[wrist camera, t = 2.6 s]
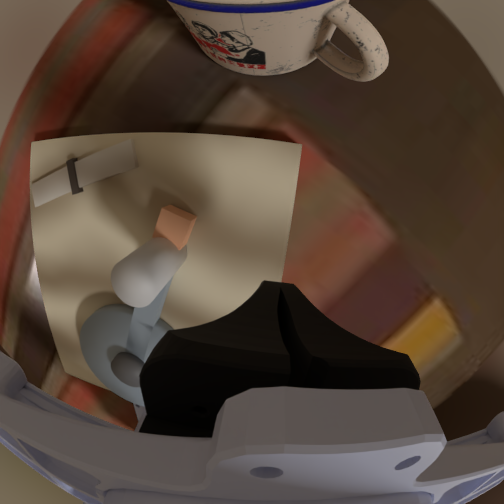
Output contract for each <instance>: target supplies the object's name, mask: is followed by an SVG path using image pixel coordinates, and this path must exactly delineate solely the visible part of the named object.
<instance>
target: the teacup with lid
mask: <svg viewBox="0 0 504 504" xmlns="http://www.w3.org/2000/svg"><path fill="white" fill-rule="evenodd" d="M167 1H168V3H169V4H170V5H171V7H172V8H173V9H174V11H175V12H176V13H177V15H178V16H179V18H180V19H181V20H182V22H183V23H184V24H185V26H186V27H187V29H188V30H189V31H190V33H191V34H192V36H193V37H194V39H195V40H196V41H197V43H198V44H199V46H200V47H201V49H202V50H203V51H204V52H205V54H206V55H207V56H209V57H210V58H211V59H212V60H213V61H215V62H216V63H218V64H220V65H221V66H223V67H225V68H227V69H230V70H233V71H236V72H239V73H244V74H250V75H277V74H283V73H287V72H291V71H294V70H297V69H299V68H301V67H303V66H305V65H307V64H309V63H310V62H312V61H313V60H315V59H316V58H318V59H319V60H321V61H322V62H323V63H324V64H325V65H327V66H328V67H329V68H331V69H332V70H333V71H335V72H337V73H338V74H340V75H342V76H344V77H346V78H349V79H352V80H355V81H370V80H372V79H375V78H376V77H378V76H379V75H380V74H381V73H383V72H384V71H385V69H386V68H387V66H388V62H389V56H388V51H387V48H386V46H385V43H384V41H383V39H382V37H381V36H380V34H379V33H378V31H377V30H376V29H375V28H374V26H373V25H372V24H371V23H370V22H369V21H368V20H367V19H366V18H365V17H364V16H363V15H362V14H360V13H359V12H358V11H357V10H356V9H354V8H353V7H352V6H351V5H349V4H348V2H349V0H167ZM336 26H337V27H338V28H339V29H340V30H341V31H343V32H344V33H345V34H346V35H347V36H348V37H349V38H350V39H351V40H352V42H353V43H354V44H355V45H356V47H357V48H358V50H359V52H360V54H361V56H362V58H363V61H364V62H362V61H358V60H355V59H353V58H351V57H349V56H348V55H346V54H345V53H343V52H342V51H341V50H339V49H338V48H337V47H336V46H335V45H333V44H332V43H331V42H330V39H331V37H332V35H333V33H334V31H335V28H336Z"/></svg>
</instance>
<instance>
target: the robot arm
mask: <svg viewBox="0 0 504 504" xmlns="http://www.w3.org/2000/svg"><path fill="white" fill-rule="evenodd" d="M139 380H140V388H141V393H142V397H143V401H144V406H145V407H143V406H140V405H137V404H134V403H133V405H134V408H135V412H136V415H137V418H138V424H137V426H136V428H135V430H134V431H131V430H128V429H125V428H122V427H119V426H117V425H114V424H111V423H109V422H106V421H104V420H101V419H99V418H97V417H94V416H92V415H90V414H87V413H85V412H83V411H81V410H79V409H77V408H74V407H72V406H70V405H68V404H66V403H64V402H62V401H60V400H59V399H57V398H55V397H53V396H51V395H49V394H47V393H46V392H44V391H42V390H40V389H39V388H37V387H35V386H34V385H32V384H30V383H29V382H27V379H26V376H25V374H24V372H23V370H22V368H21V367H20V366H19V364H18V363H17V362H15V361H14V360H13V359H11V358H10V357H8V356H7V355H5V354H4V353H2V352H1V351H0V442H1V443H2V444H3V445H4V446H6V447H7V448H8V449H9V450H10V451H12V452H13V453H14V454H15V455H16V456H17V457H19V458H20V459H21V460H23V461H24V462H25V463H26V464H28V465H29V466H30V467H32V468H33V469H34V470H36V471H37V472H38V473H40V474H41V475H42V476H44V477H45V478H47V479H48V480H50V481H51V482H53V483H54V484H56V485H57V486H59V487H60V488H62V489H63V490H65V491H67V492H68V493H70V494H72V495H73V496H75V497H77V498H78V499H80V500H82V501H84V502H83V504H465V503H466V502H468V501H470V500H472V499H474V498H476V497H477V496H479V495H481V494H482V493H484V492H486V491H488V490H489V489H491V488H493V487H494V486H496V485H497V484H499V483H500V482H501V481H502V480H504V412H501V413H500V414H498V415H497V416H496V417H495V418H494V419H493V420H492V421H491V422H490V423H489V425H488V426H487V428H486V429H484V430H481V431H478V432H475V433H473V434H470V435H467V436H464V437H461V438H458V439H454V440H451V441H448V442H447V441H446V438H445V436H444V433H443V431H442V429H441V426H440V424H439V422H438V420H437V418H436V416H435V414H434V412H433V409H432V407H431V405H430V403H429V401H428V399H427V397H426V395H425V393H424V391H420V390H419V387H420V377H419V374H418V372H417V370H416V368H415V367H414V365H413V363H412V361H411V359H410V358H409V356H408V355H407V354H403V353H400V352H396V351H393V350H389V349H386V348H383V347H380V346H378V345H375V344H373V343H370V342H368V341H366V340H363V339H361V338H359V337H357V336H355V335H354V334H352V333H350V332H348V331H346V330H345V329H343V328H341V327H340V326H338V325H337V324H336V323H334V322H333V321H331V320H330V319H329V318H327V317H326V316H325V315H324V314H323V313H322V312H320V311H319V310H318V309H317V308H316V307H315V306H314V305H313V304H312V303H311V302H310V301H309V300H308V299H307V298H306V297H305V296H304V295H303V294H302V292H301V291H300V290H299V289H298V288H297V287H296V286H295V285H294V284H290V283H282V282H275V281H267V280H264V281H262V282H261V284H260V286H259V287H258V289H257V290H256V291H255V292H254V293H253V294H252V296H251V297H250V298H249V299H248V300H246V301H245V302H244V303H243V304H242V305H241V306H239V307H238V308H237V309H235V310H234V311H232V312H231V313H229V314H227V315H225V316H223V317H221V318H218V319H216V320H214V321H211V322H208V323H205V324H201V325H198V326H194V327H188V328H182V329H175V330H168V331H167V332H166V334H165V335H164V336H163V337H162V338H161V339H160V341H159V342H158V343H157V344H156V346H155V347H154V348H153V350H152V352H151V353H150V355H149V357H148V358H147V360H146V362H145V363H144V365H143V367H142V370H141V372H140V374H139Z"/></svg>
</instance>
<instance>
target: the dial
mask: <svg viewBox="0 0 504 504" xmlns="http://www.w3.org/2000/svg"><path fill="white" fill-rule="evenodd" d="M196 219H197V216H195V215H193V214H191V213H188V212H186V211H184V210H182V209H179V208H177V207H175V206H173V205H167V206H165V207H163V208H162V209H161V212H160V215H159V218H158V221H157V224H156V227H155V230H154V233H153V236H152V237H153V238H152V239H150V240H149V241H148V242H146V243H145V244H143V245H142V246H140V247H139V248H138V249H136V250H135V251H133V252H132V253H130V254H129V255H128V256H126V257H125V258H123V259H122V260H121V261H119V262H118V263H117V264H116V265H115V266H114V267H113V269H112V272H111V283H112V287H113V289H114V291H115V293H116V295H117V296H118V297H119V298H120V299H121V300H122V301H123V302H124V303H126V304H127V305H126V304H110V305H105V306H103V307H101V308H99V309H98V310H96V311H95V312H94V313H93V314H92V315H91V316H90V317H89V318H88V319H87V320H86V321H85V322H84V324H83V325H82V328H81V331H80V346H81V350H82V354H83V356H84V358H85V361H86V362H87V364H88V366H89V368H90V369H91V371H92V372H93V373H94V374H95V376H96V377H97V378H98V379H99V380H100V381H101V382H102V383H103V384H104V385H105V386H106V387H107V388H109V389H110V390H111V391H112V392H114V393H115V394H117V395H118V396H120V397H122V398H123V399H125V400H127V401H130V402H132V403H134V404H137V405H140V406H143V407H145V406H144V401H143V397H142V393H141V388H140V380H139V374H140V372H141V370H142V367H143V365H144V363H145V362H146V360H147V358H148V357H149V355H150V353H151V352H152V350H153V348H154V347H155V346H156V344H157V343H158V342H159V341H160V339H161V338H162V337H163V336H164V335H165V334H166V332H167V331H168V330H174V329H173V328H172V327H171V326H169V325H168V324H167V323H166V322H164V321H163V320H161V319H160V315H161V311H162V308H163V305H164V302H165V299H166V296H167V293H168V290H169V287H170V284H171V281H172V278H173V276H174V274H175V273H176V272H177V271H178V269H179V268H180V267H181V266H182V265H183V263H184V262H185V261H186V258H187V246H186V244H187V242H188V239H189V237H190V234H191V231H192V229H193V226H194V224H195V221H196Z"/></svg>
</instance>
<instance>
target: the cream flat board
mask: <svg viewBox="0 0 504 504" xmlns="http://www.w3.org/2000/svg"><path fill="white" fill-rule="evenodd" d="M301 149H302V144H296V143H289V142H282V141H275V140H267V139H259V138H250V137H240V136H229V135H215V134H198V133H166V132H145V133H113V134H97V135H84V136H74V137H64V138H56V139H49V140H42V141H35V142H32V144H31V160H30V207H31V223H32V234H33V244H34V252H35V259H36V265H37V271H38V277H39V282H40V287H41V292H42V297H43V301H44V306H45V310H46V314H47V317H48V321H49V325H50V328H51V332H52V335H53V338H54V342H55V345H56V348H57V351H58V354H59V357H60V360H61V362H62V365H63V368H64V370H65V372H66V373H68V374H70V375H72V376H75V377H77V378H79V379H82V380H84V381H87V382H89V383H92V384H94V385H97V386H99V387H102V388H104V389H107V390H110V389H109V388H107V387H106V386H105V385H104V384H103V383H102V382H101V381H100V380H99V379H98V378H97V377H96V376H95V374H94V373H93V372H92V371H91V369H90V368H89V366H88V364H87V362H86V361H85V358H84V356H83V354H82V350H81V346H80V331H81V328H82V325H83V324H84V322H85V321H86V320H87V319H88V318H89V317H90V316H91V315H92V314H93V313H94V312H95V311H96V310H98V309H99V308H101V307H103V306H105V305H110V304H126V303H124V302H123V301H122V300H121V299H120V298H119V297H118V296H117V295H116V293H115V291H114V289H113V287H112V283H111V272H112V269H113V267H114V266H115V265H116V264H117V263H118V262H119V261H121V260H122V259H123V258H125V257H126V256H128V255H129V254H130V253H132V252H133V251H135V250H136V249H138V248H139V247H140V246H142V245H143V244H145V243H146V242H148V241H149V240H150V239H152V238H153V237H152V236H153V233H154V230H155V227H156V224H157V221H158V218H159V215H160V212H161V209H162V208H163V207H165V206H167V205H173V206H175V207H177V208H179V209H182V210H184V211H186V212H188V213H191V214H193V215H195V216H197V219H196V221H195V224H194V226H193V229H192V231H191V234H190V237H189V239H188V242H187V244H186V246H187V258H186V261H185V262H184V263H183V265H182V266H181V267H180V268H179V269H178V271H177V272H176V273H175V274H174V276H173V278H172V281H171V284H170V287H169V290H168V293H167V296H166V299H165V302H164V305H163V308H162V311H161V315H160V319H161V320H163V321H164V322H166V323H167V324H168V325H169V326H171V327H172V328H173V329H174V330H175V329H182V328H188V327H194V326H198V325H201V324H205V323H208V322H211V321H214V320H216V319H218V318H221V317H223V316H225V315H227V314H229V313H231V312H232V311H234V310H235V309H237V308H238V307H239V306H241V305H242V304H243V303H244V302H245V301H246V300H248V299H249V298H250V297H251V296H252V294H253V293H254V292H255V291H256V290H257V289H258V287H259V286H260V284H261V282H262V281H264V280H267V281H275V282H281V280H282V274H283V268H284V262H285V256H286V250H287V244H288V238H289V232H290V226H291V219H292V213H293V206H294V199H295V193H296V186H297V179H298V171H299V164H300V157H301ZM126 305H127V304H126ZM110 391H111V390H110Z"/></svg>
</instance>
